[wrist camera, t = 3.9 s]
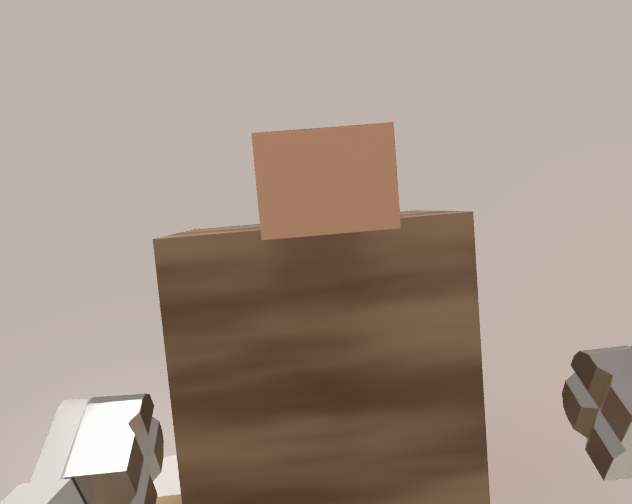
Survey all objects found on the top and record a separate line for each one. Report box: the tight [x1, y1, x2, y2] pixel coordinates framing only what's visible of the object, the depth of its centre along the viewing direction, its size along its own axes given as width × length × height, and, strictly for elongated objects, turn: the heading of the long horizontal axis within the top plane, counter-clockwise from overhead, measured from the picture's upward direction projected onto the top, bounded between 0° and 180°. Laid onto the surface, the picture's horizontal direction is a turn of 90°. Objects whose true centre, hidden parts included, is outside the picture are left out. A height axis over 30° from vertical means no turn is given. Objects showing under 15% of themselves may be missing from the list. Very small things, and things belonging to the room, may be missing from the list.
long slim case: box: [252, 122, 401, 240], centre depth 25 cm, size 20×4×3 cm, turn 3°
